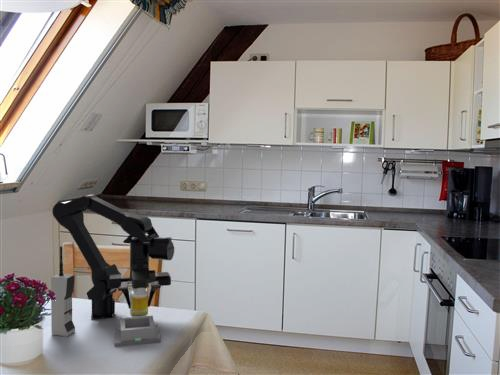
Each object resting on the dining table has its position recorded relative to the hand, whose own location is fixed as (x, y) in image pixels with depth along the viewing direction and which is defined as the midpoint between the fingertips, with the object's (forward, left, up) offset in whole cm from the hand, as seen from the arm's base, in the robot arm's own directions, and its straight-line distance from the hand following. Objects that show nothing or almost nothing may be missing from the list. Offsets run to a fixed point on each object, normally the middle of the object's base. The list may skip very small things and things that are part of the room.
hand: (139, 307), depth 134 cm
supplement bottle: (0, 0, -3) cm, 3 cm away
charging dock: (-1, -13, -4) cm, 14 cm away
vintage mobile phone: (-21, -6, -4) cm, 22 cm away
